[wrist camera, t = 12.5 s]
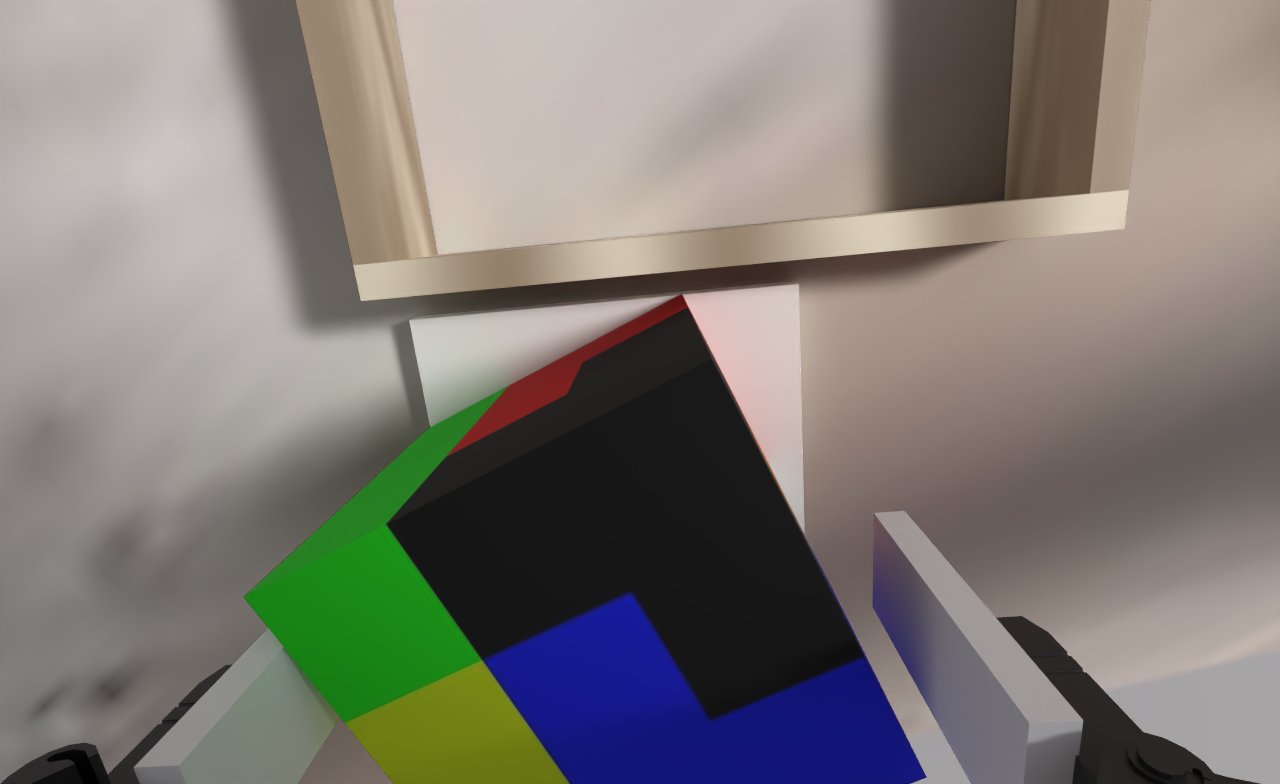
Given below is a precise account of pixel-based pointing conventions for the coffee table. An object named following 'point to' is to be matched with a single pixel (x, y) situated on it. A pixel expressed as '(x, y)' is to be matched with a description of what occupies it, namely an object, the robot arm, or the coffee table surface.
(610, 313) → the pad
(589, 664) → the puzzle toy
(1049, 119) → the bin
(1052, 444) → the coffee table surface
